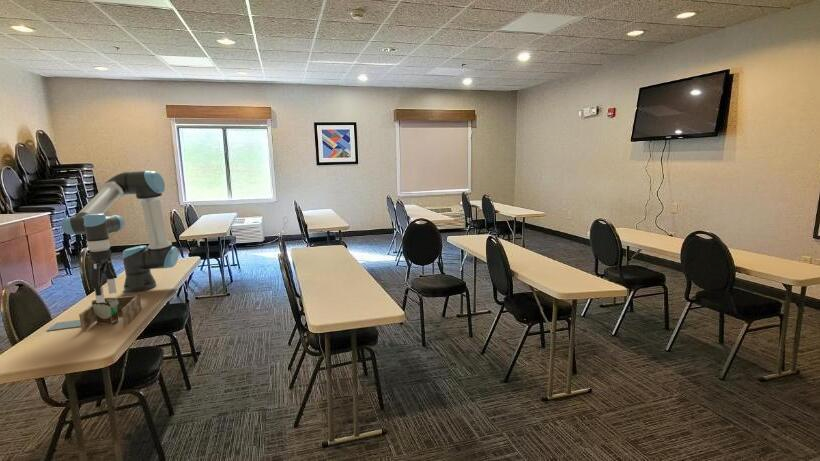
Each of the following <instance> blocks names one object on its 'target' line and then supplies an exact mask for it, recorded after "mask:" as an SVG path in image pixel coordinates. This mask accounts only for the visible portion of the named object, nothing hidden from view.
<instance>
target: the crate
mask: <svg viewBox="0 0 820 461" xmlns="http://www.w3.org/2000/svg"><path fill="white" fill-rule="evenodd" d="M140 297H141V295H139V294H135V295H128V296H119V297H118V296H117V297H115V298H116V299H117V300H118V302H119V304H118V305H117V311H118V314H119V313H122V315H121V316H122V321H123V326H124V325H128V324H130V322H131V321H132V320H133V319H134V318H135V317H136V316H137V315H138V313H139V312H140V311H141V310H142V305H141V298H140ZM78 316H79V320H80V322H81V327H80V328H81V331H86V330H87V329H89V328H90V327H91V326H92V325H93V324H94V323H95V322H97V321H96V317H95V313H94V309H93V305H92V304H91V305H90V306H89V307H86V309H85V310H83V311H82V312H81V313H79V314H78Z"/></svg>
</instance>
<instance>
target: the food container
mask: <svg viewBox="0 0 820 461" xmlns="http://www.w3.org/2000/svg"><path fill="white" fill-rule="evenodd" d="M104 298H105V302H101V303H97V301H96V299H93V300H91V305H93V309H94V313H95V317H96V321H95V322H96V323H97V324H103V325H111V326H113V325H115V324H117V323H118V322H119V315H118V314H119V313H118V311H117V305H118V304H119V302H118V300H117V299H116V298H117V297H104Z"/></svg>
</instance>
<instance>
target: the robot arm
mask: <svg viewBox="0 0 820 461" xmlns="http://www.w3.org/2000/svg"><path fill="white" fill-rule="evenodd" d="M165 188H166V186H165V181H164V179H163V176H162V175H161V174H160V173H159V172H157V171H153V170H141V171H140V170H139V171H124V172H121V173H118V174H116V175H114V176H112V177H111V178H109V179H108V180H106V181H105V182H104V183H103V184H102V185H101V190H100V191H98V192H97V194H96V195H95V196H94V197H92V199H90V201H89V202H88V203H87V204H86V205H85V206H83V208H82V209H81V210H79V212H78V213H77V214H76V215H75V216H72V217H71V216H70V217H65V218H64V219H62V221H61V224H60V225H61V229H62V231H63V233H64V234H66V235H76V236H77V235H85V236H86V246H87V249H88V251H89V252H88V257H89V260H90V261H94V263H92V264H91V283H90V284H91V286H90V288H91V289H94V294H95V300H96V301H97V303H101V302H105V298H106V297H105V293H104V287H103V286H102V284H103V280H104V274H105V276H106V278H107V279H106V283H107V288H108V294H117V292H118V290H117V284H116V279H117V278H118V276H117V272H116V270H115V267H114V265H113V263H112V259H111V258H112V251H111V241H110V237H109V234H111V233H117V232H119V231H121V230H122V229H124V227H125V220H124V218H123V217H122V216H120V215H118V214H110V215H106V214H105V212H107V210H108V209H109V208H110V207H111V206H112V205H113V204H114V203H115V202H116V201H117V200H118V199H121V198H122V197H124V196H126V195H135V196H136V197H135V198H136V199H137V200H138V201H140V204H141V210H142V213H143V217H144V222H145V227H146V230H147V231H146V232H147V235H148V240H149V244H148V245H139V246H133V247H129V248H126V249H125V250H123V251H122V261H123V266H124V272H125V278H124V279H125V280H124V282H123V283H124V284H123V291H125V292H127V293H128V292H129V293H130V292H131V293H132V292H133V293H134V292H141V291H147V290H151V289H153V288H155V287H156V286H157V281H156V279H155V277H154V276H153V274H152V272H151V270H156V269H160V270H161V269H170V268H174V267H175V266H176V265H177V262H178V260H179V250H178V247H176V246H173V243H172V241H170V240H169V239H168V233H167V228H166V224H165V219H164V214H163V210H162V205H161V200H160V198H161V197H162V196H163V193H164V192H165Z"/></svg>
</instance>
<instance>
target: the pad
mask: <svg viewBox="0 0 820 461" xmlns="http://www.w3.org/2000/svg"><path fill="white" fill-rule="evenodd" d="M76 328H81V322H80V319H77V320H68V321H60V322H56V323H54V324H53V325H52V326H51V327H49V328H48V329H46V330H45V331H46V332H52V331H59V330H60V331H61V330H68V329H76Z"/></svg>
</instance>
